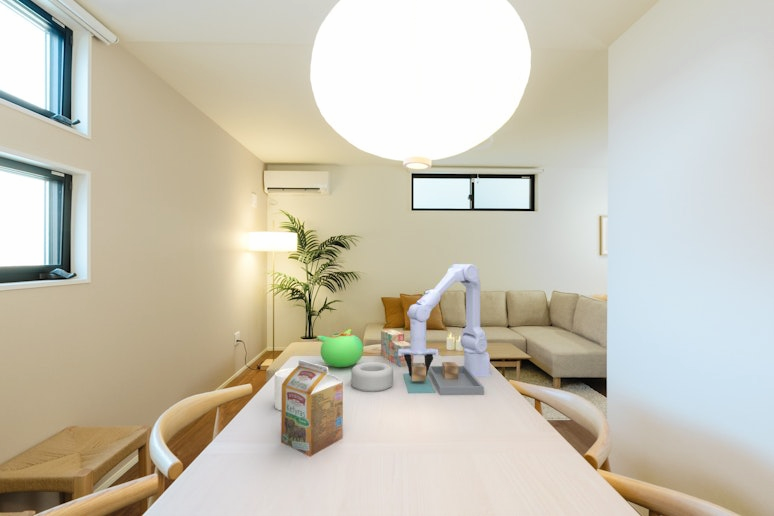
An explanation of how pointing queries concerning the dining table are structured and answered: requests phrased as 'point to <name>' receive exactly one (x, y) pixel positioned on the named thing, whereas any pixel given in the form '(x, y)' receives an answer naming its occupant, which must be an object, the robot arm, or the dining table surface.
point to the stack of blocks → (393, 346)
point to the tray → (456, 382)
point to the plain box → (449, 370)
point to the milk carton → (311, 409)
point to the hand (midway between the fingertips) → (418, 375)
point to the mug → (280, 385)
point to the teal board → (418, 385)
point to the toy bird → (341, 349)
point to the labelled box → (418, 372)
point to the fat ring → (372, 376)
